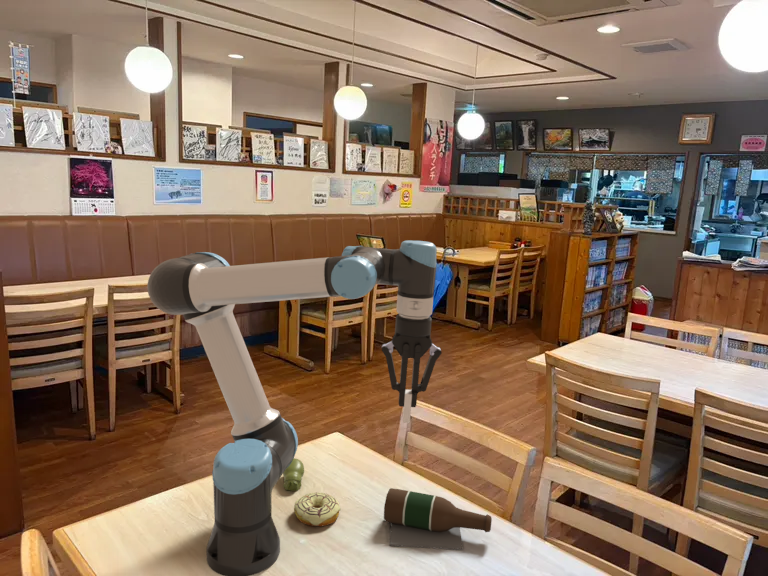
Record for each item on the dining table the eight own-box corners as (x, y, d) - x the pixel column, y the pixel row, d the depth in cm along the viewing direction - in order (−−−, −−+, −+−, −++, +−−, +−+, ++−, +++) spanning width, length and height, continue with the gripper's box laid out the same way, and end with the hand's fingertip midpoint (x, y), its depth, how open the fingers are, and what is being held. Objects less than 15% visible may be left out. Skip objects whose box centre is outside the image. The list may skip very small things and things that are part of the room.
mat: (389, 545, 123) (390, 543, 123) (391, 513, 135) (391, 512, 135) (462, 549, 123) (463, 547, 123) (457, 517, 135) (457, 515, 134)
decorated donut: (318, 535, 126) (318, 520, 125) (285, 517, 132) (284, 503, 132) (348, 514, 134) (348, 500, 134) (315, 498, 141) (315, 484, 140)
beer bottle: (393, 485, 136) (493, 503, 130) (389, 519, 134) (490, 538, 128) (386, 489, 129) (491, 508, 122) (381, 525, 127) (488, 546, 121)
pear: (304, 454, 151) (302, 479, 142) (304, 470, 153) (302, 496, 144) (284, 454, 151) (280, 479, 141) (284, 470, 152) (280, 496, 143)
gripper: (382, 317, 114) (375, 425, 118) (446, 321, 114) (437, 429, 118) (383, 308, 121) (376, 411, 125) (443, 312, 121) (434, 414, 126)
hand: (406, 419), depth 122 cm, fingers closed
